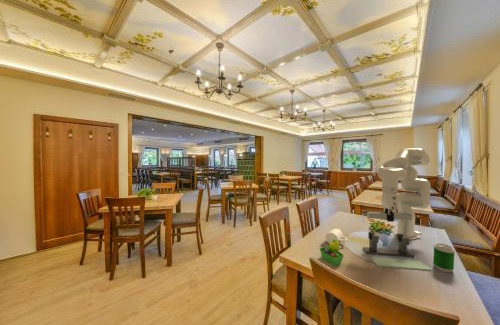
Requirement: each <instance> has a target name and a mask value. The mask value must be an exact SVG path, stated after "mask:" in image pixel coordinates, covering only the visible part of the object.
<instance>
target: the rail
mask: <svg viewBox="0 0 500 325" xmlns="http://www.w3.org/2000/svg"><path fill="white" fill-rule="evenodd" d="M387 215H388V213H387V212H384V211H383V212H381V211H366V218H368V219H376V220H377V219H378V220H379V219H381V220H387ZM398 219H400V220H412V215H411V214H409V213H398V212H396V213H395V214H394V220H398Z"/></svg>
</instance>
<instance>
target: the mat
mask: <svg viewBox="0 0 500 325" xmlns="http://www.w3.org/2000/svg"><path fill="white" fill-rule="evenodd" d="M370 259H371V260H372V261H373V263H374V264H375V265H376V267H383V268H397V269H406V270H407V269H409V270H417V271H418V270H419V271H428V272H429V271H432V269H431V268H430V267H429V266H427V265H426V264H425V263H423V262H422V261H421V260H413V259H412V260H410V259H398V258H385V257H373V256H370Z"/></svg>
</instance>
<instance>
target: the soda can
mask: <svg viewBox="0 0 500 325" xmlns="http://www.w3.org/2000/svg"><path fill="white" fill-rule="evenodd" d="M432 264H433V266H434V268H436V269H438V270H440V271H442V272H446V273H451V272H453V271H454V269H455V268H454V266H455V250H454V248H453V247H452V246H451V245H448V244H444V243H436V244H434V245H433V263H432Z"/></svg>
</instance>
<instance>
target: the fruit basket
mask: <svg viewBox="0 0 500 325" xmlns="http://www.w3.org/2000/svg"><path fill="white" fill-rule="evenodd" d="M340 245H341V244H340V241H339V242H338V240H336V239H335V240H333V241H332V242H331V243H330V244H329V243H328V246H324V247H319V252H320V255H321V258H322V259H323V260H325V261H327V262H328V263H329V264H331V265H332V266H338V265H340V264H341V265H342V261H343V258H344V257H345V255H344V254H343V253H341V252H340Z"/></svg>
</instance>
